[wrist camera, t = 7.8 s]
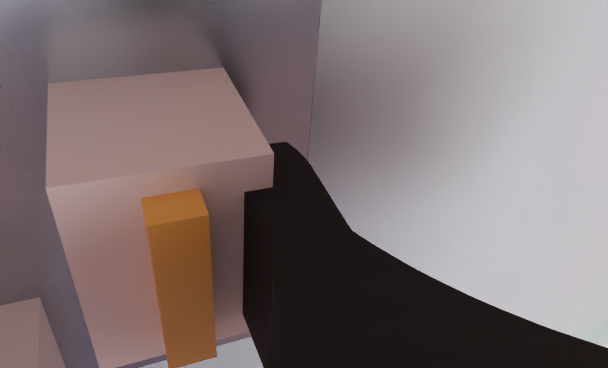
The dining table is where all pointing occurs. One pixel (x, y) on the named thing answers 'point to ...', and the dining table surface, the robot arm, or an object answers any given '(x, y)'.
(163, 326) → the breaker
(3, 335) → the block
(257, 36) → the panel
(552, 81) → the dining table surface
